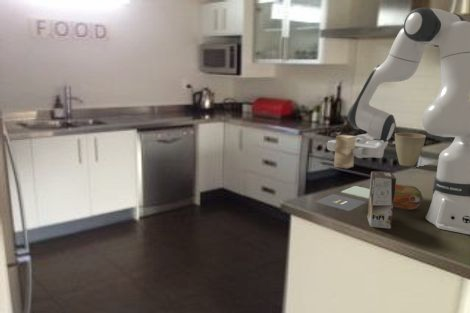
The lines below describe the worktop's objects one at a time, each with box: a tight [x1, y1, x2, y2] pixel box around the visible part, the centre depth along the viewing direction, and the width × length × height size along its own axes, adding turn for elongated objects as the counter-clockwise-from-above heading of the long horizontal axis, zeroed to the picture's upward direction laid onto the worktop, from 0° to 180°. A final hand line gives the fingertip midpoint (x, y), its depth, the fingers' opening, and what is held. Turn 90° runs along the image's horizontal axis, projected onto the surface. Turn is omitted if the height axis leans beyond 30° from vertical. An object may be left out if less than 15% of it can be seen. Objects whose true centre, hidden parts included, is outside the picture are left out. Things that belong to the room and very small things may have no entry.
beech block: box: [333, 134, 357, 170], centre depth 148 cm, size 5×5×11 cm
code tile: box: [314, 193, 368, 212], centre depth 152 cm, size 14×14×1 cm
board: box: [340, 185, 370, 200], centre depth 163 cm, size 14×12×1 cm
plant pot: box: [394, 132, 426, 167], centre depth 214 cm, size 15×15×16 cm
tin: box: [393, 183, 423, 211], centre depth 147 cm, size 15×3×8 cm, turn 57°
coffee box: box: [366, 170, 397, 230], centre depth 130 cm, size 9×6×16 cm
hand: (344, 150), depth 147 cm, fingers closed on beech block, 5 cm apart
